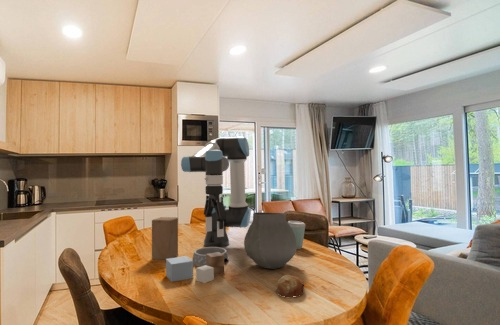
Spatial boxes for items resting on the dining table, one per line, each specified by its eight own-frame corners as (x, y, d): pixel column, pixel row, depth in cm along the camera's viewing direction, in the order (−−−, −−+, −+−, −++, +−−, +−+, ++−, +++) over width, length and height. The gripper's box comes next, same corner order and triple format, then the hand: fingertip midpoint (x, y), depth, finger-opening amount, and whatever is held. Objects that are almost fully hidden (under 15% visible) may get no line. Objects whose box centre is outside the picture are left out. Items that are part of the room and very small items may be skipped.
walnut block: (218, 269, 139) (218, 252, 140) (224, 273, 134) (224, 255, 134) (206, 272, 136) (206, 253, 137) (211, 276, 131) (211, 257, 131)
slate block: (186, 271, 137) (186, 255, 137) (193, 278, 129) (193, 261, 129) (166, 275, 132) (166, 258, 133) (171, 281, 125) (171, 264, 125)
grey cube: (205, 277, 130) (205, 265, 130) (213, 279, 127) (213, 267, 127) (196, 280, 126) (196, 268, 127) (204, 283, 123) (204, 270, 123)
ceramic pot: (301, 261, 152) (300, 209, 152) (291, 277, 129) (290, 216, 129) (253, 256, 160) (253, 208, 160) (236, 271, 137) (236, 214, 137)
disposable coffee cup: (305, 245, 182) (304, 220, 183) (306, 250, 172) (306, 223, 172) (286, 245, 183) (286, 220, 184) (287, 250, 173) (286, 223, 173)
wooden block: (169, 260, 155) (169, 220, 155) (151, 259, 157) (151, 219, 157) (178, 255, 164) (178, 217, 165) (160, 254, 166) (160, 216, 167)
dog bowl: (235, 259, 157) (235, 248, 157) (212, 269, 141) (212, 257, 141) (208, 255, 166) (208, 244, 166) (184, 263, 150) (184, 252, 150)
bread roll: (278, 297, 117) (269, 278, 117) (302, 284, 118) (293, 266, 118) (284, 309, 107) (274, 288, 107) (310, 295, 108) (300, 274, 108)
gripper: (196, 184, 146) (196, 230, 145) (217, 186, 124) (217, 240, 123) (211, 184, 149) (211, 228, 148) (234, 186, 127) (234, 238, 127)
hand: (214, 233), depth 136 cm, fingers open, 13 cm apart
